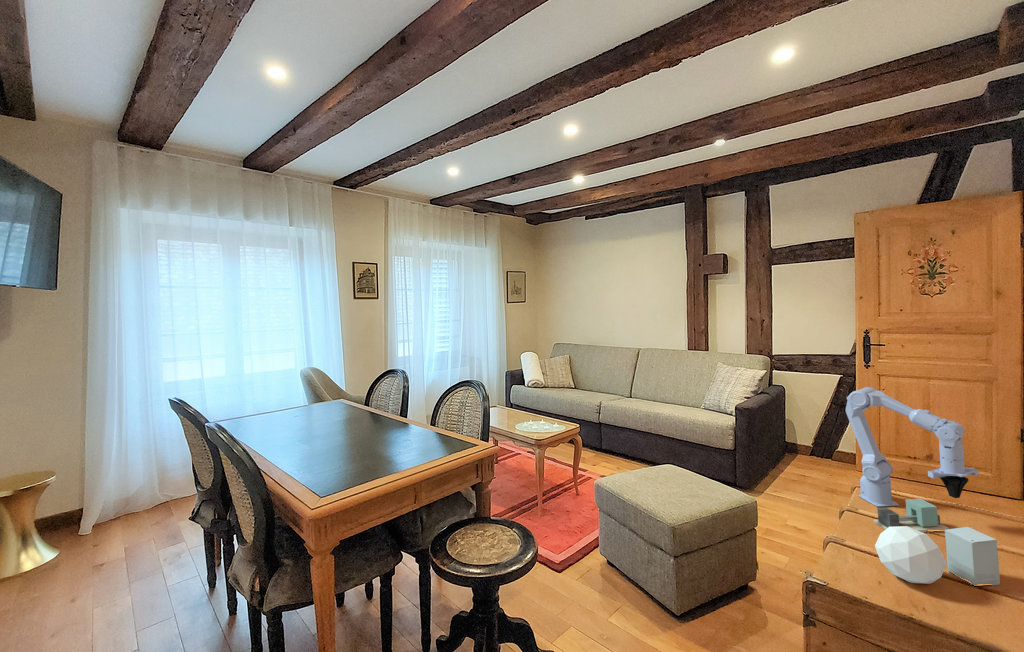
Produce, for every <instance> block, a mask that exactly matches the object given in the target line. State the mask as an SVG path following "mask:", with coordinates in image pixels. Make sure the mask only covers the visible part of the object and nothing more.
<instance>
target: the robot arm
mask: <svg viewBox="0 0 1024 652" xmlns="http://www.w3.org/2000/svg"><path fill="white" fill-rule="evenodd" d="M846 400H847V401H846V406H845V413H846V416H847V418H848V421H849V423H850V426H851V429H852V431H853V433H854V436H855V439H856V441H857V444H858V447H859V449H860V452H861V454H862V458H861V465H862V469H861V471H862V474H863V475H862V476H861V477H860V479H859V484H860V486H859V487H860V494H858V497H860V498H862V499H863V500H865V501H866V502H868V503H869V504H872V505H873V506H875V507H877V508H885V507H894V506H895V507H897V506H900V505H899V503H897V502H895V501H894V500H893V495H892V483H891V481H892V480H891V477H890V476H891V475H892V473H893V472H894V471H893V466H892V464H891V463H890V462H889V461H888V460H887V458H886V456H885V455H884V454H883V453H881V452H880V449H879V447H878V445H877V442H876V439H875V437H874V435H873V432H872V430H871V428H870V425H869V422H868V420H867V418H866V415H865V412H866V411H867V409H868V408H869V407H884V408H886V409H889V410H891V411H893V412H895V413H898V414H901V415H903V416H904V417H907V418H908V419H909V420H910V422H911V423H912V424H913V425H916V426H917V427H920V428H923V429H924V430H926V431H929V432H930V433H933V434H935V436H936V437H937V439H938V442H939V443H938V447H939V451H938V452H939V462H940V467H939V468H936V469H932V470H927V476H928V477H929V478H931V479H937V478H939V479H940V481H941V482H942V483H943V485H944V486H945V489H946V490H947V493H948V495H949V497H951V498H954V499H960V498H961V496H962V495H961V494H962V492H963V489H964V487H965V486H966V485H967V483H969V478H968V476H979V470H978V469H976V468H974V467H965V453H964V445H963V438H962V437H963V436H964V435H965V433H966V430H965V428H964V426H963V425H962V424H960V423H959V422H957V421H955V420H948V419H947V418H942V417H939V416H938V415H936V414H934V413H931V410H928V409H922V408H919V409H914V408H912V407H910V406H908V405H907V404H904V403H902V402H901V401H899V400H897V399H895V398H893V397H891V396H889V395H887V394H886V393H884V392H883V391H881V390H878V389H875V388H874V387H871V386H865V387H862V388H861V389H858V390H854V391H852V392H850V393H849V394H848V395H847V396H846Z"/></svg>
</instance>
